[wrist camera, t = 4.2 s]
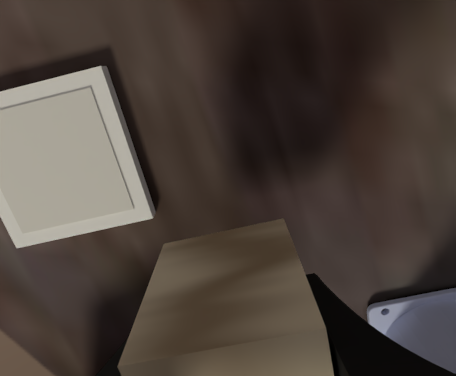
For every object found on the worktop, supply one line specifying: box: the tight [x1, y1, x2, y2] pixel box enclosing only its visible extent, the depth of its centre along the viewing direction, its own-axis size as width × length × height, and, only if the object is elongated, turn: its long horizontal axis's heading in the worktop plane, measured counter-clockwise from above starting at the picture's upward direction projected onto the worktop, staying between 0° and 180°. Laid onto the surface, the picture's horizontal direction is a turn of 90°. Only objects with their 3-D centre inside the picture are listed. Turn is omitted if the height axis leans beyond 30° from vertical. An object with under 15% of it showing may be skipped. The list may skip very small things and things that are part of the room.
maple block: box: [117, 219, 334, 376], centre depth 11 cm, size 5×5×6 cm
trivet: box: [0, 66, 156, 248], centre depth 17 cm, size 8×8×1 cm
